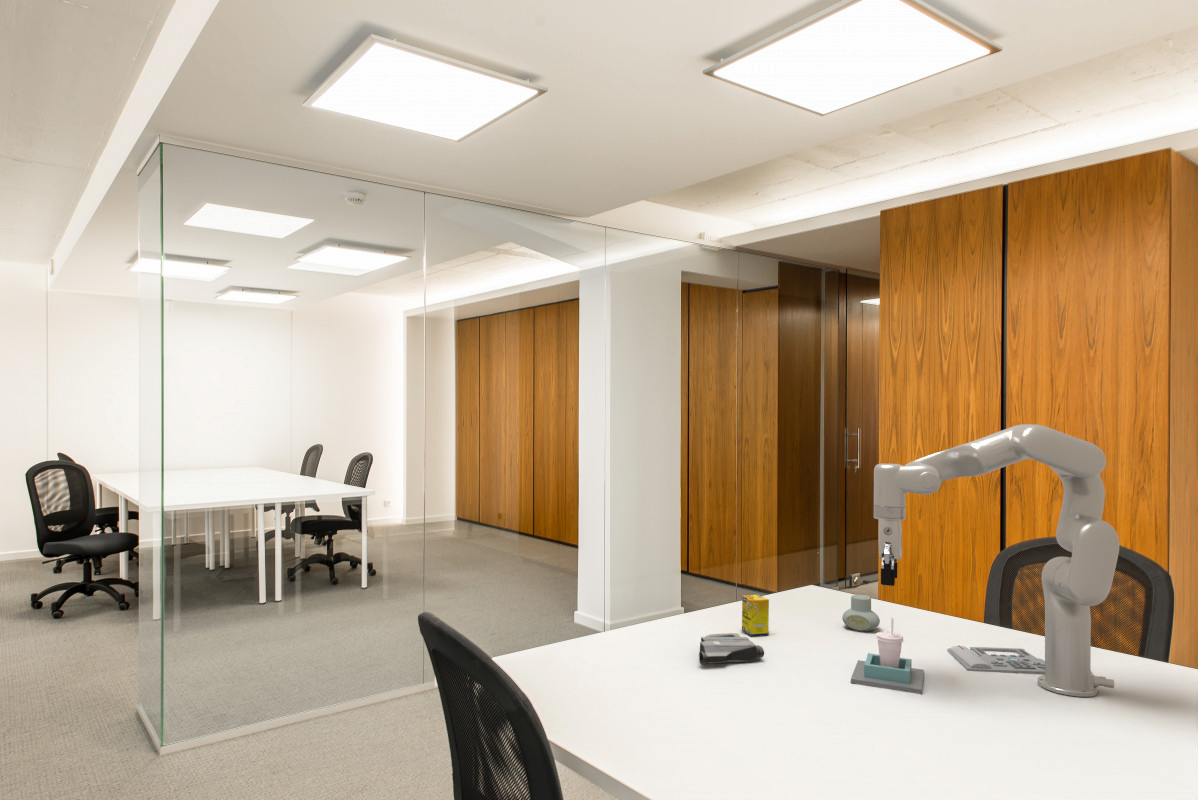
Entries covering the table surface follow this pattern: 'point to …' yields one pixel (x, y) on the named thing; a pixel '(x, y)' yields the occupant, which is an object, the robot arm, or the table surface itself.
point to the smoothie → (889, 647)
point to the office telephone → (997, 660)
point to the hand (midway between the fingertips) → (889, 581)
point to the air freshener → (861, 614)
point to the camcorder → (728, 649)
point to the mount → (888, 675)
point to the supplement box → (755, 615)
